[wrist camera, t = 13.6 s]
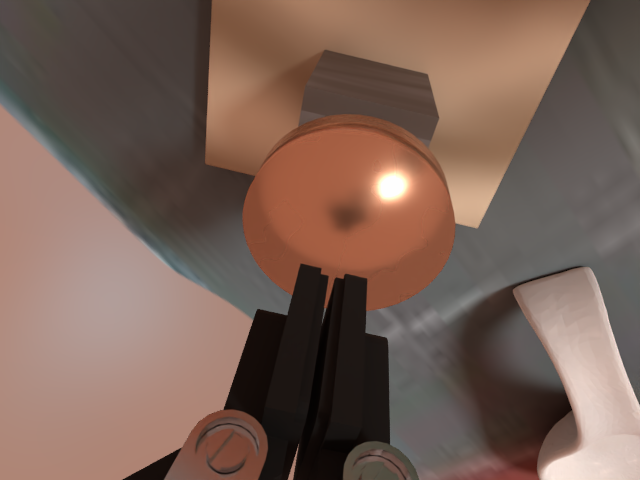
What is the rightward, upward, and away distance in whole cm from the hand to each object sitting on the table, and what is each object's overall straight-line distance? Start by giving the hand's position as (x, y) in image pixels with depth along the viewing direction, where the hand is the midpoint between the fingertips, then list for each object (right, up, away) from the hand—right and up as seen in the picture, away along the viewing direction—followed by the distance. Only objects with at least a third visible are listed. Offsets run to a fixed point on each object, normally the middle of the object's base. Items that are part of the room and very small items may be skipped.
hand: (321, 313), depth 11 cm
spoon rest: (+20, -9, +23) cm, 32 cm away
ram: (+2, +6, +8) cm, 10 cm away
